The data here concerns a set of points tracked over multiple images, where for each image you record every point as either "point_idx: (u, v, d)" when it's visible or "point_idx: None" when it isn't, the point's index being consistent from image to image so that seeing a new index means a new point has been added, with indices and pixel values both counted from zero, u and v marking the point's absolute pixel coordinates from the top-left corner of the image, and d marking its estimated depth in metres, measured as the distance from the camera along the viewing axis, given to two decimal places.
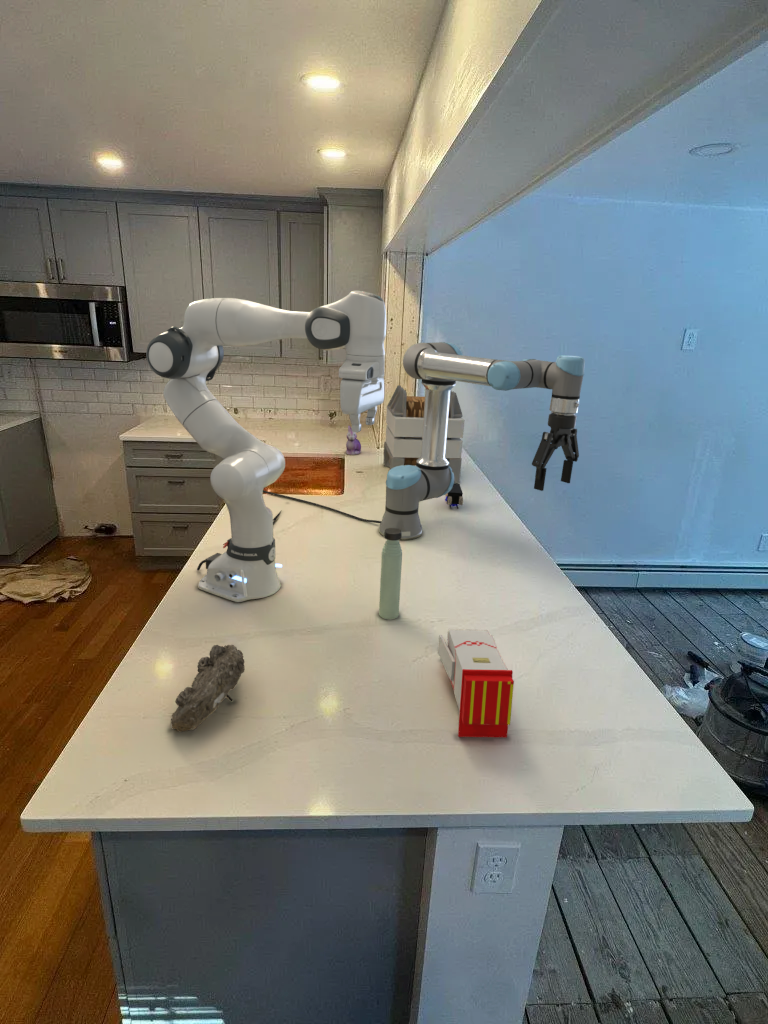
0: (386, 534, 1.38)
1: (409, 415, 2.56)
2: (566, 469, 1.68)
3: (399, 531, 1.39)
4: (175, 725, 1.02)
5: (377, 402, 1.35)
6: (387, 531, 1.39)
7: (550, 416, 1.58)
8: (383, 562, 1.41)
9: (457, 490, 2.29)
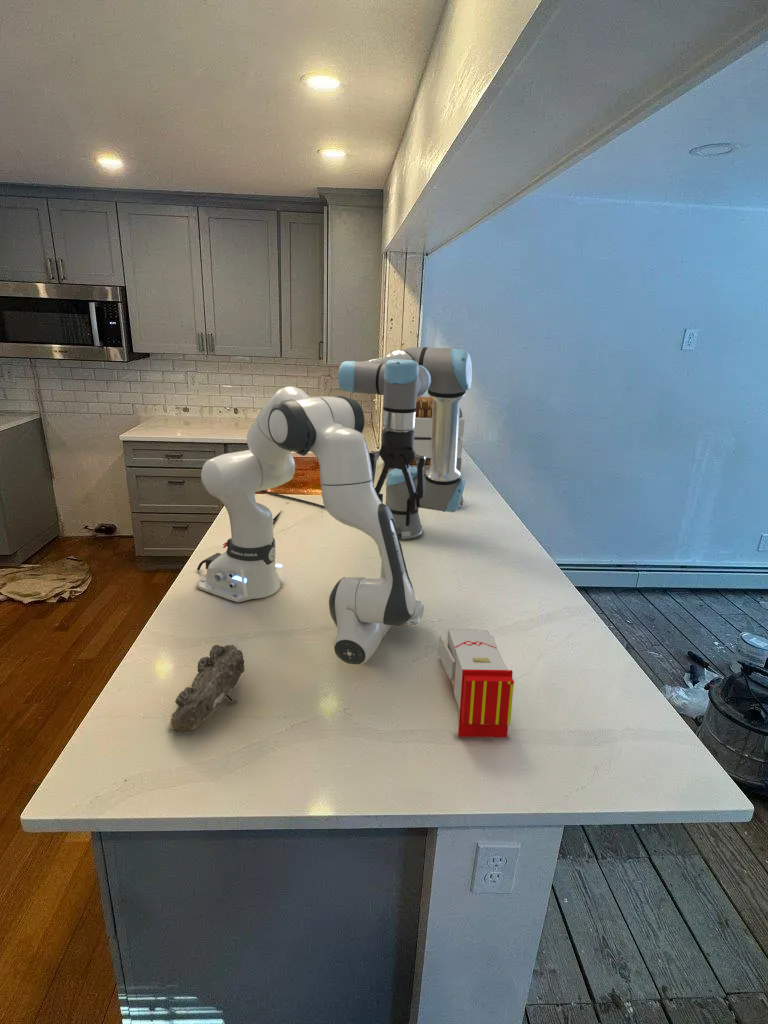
0: None
1: None
2: None
3: (399, 531, 1.39)
4: (175, 725, 1.02)
5: None
6: None
7: (410, 435, 1.29)
8: None
9: None
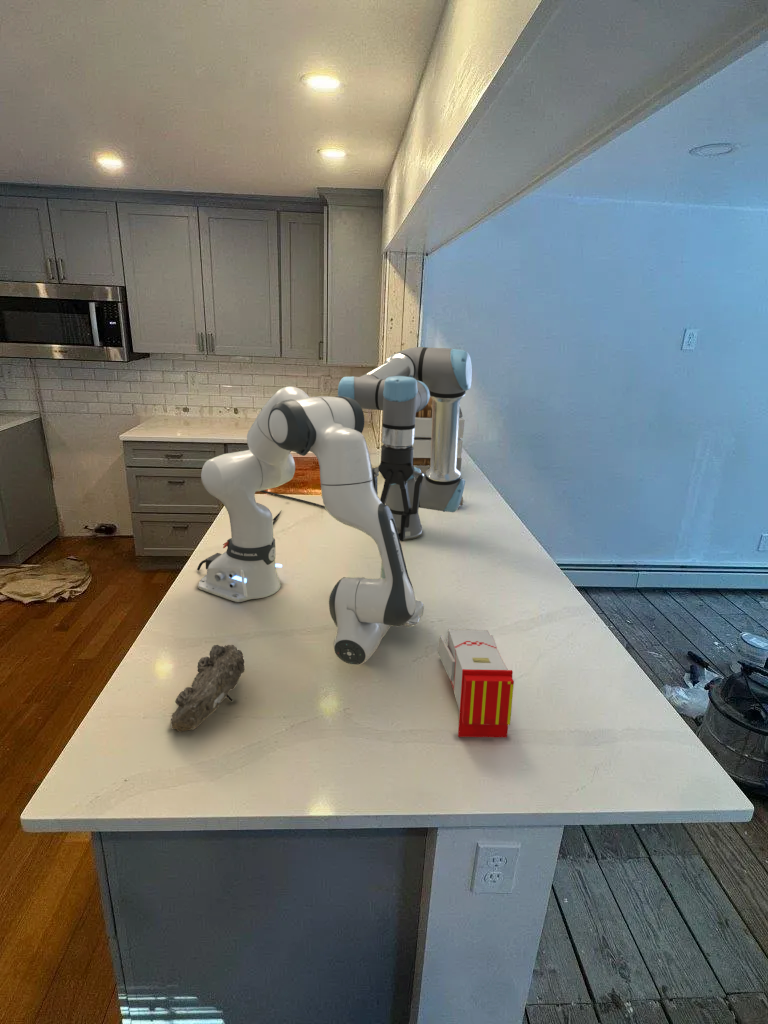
0: None
1: None
2: None
3: (399, 531, 1.39)
4: (175, 725, 1.02)
5: None
6: None
7: (409, 451, 1.30)
8: None
9: None
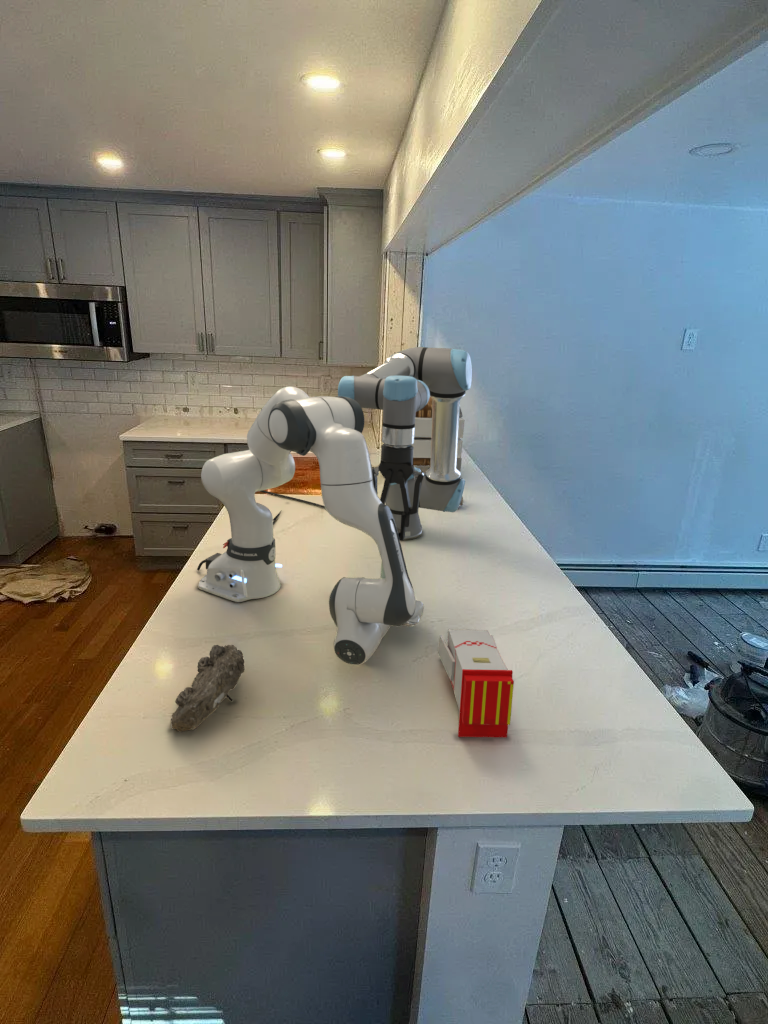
0: None
1: None
2: None
3: None
4: (175, 725, 1.02)
5: None
6: (398, 531, 1.38)
7: (409, 451, 1.30)
8: None
9: None
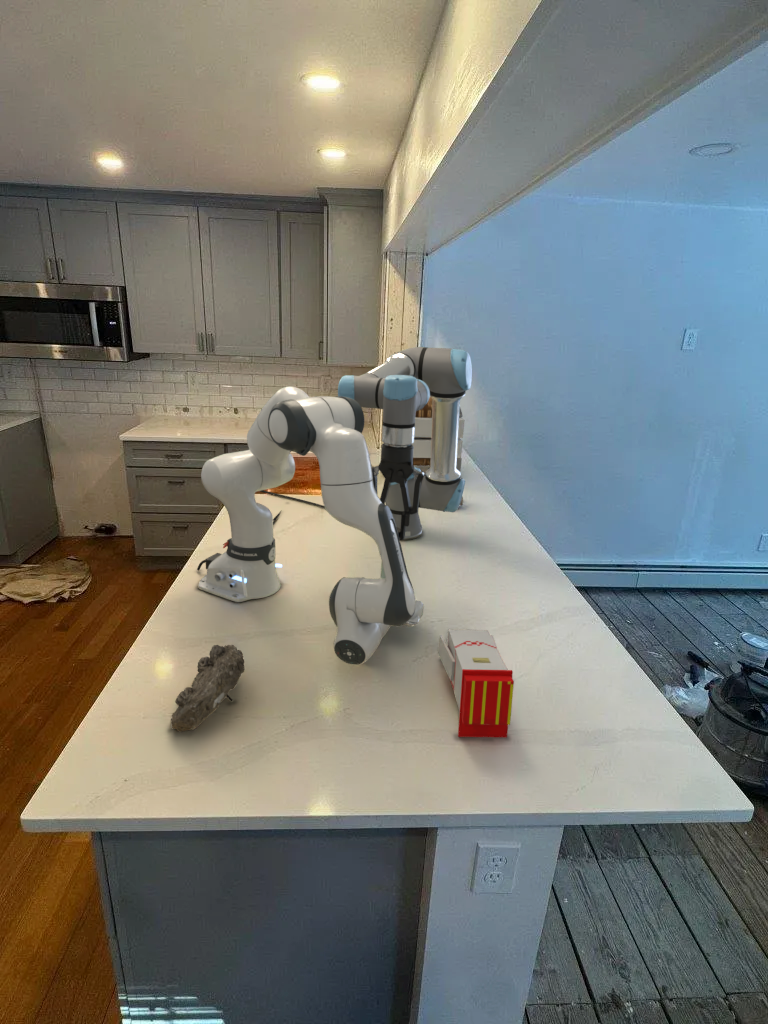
0: None
1: None
2: None
3: None
4: (175, 725, 1.02)
5: None
6: None
7: (410, 450, 1.30)
8: None
9: None
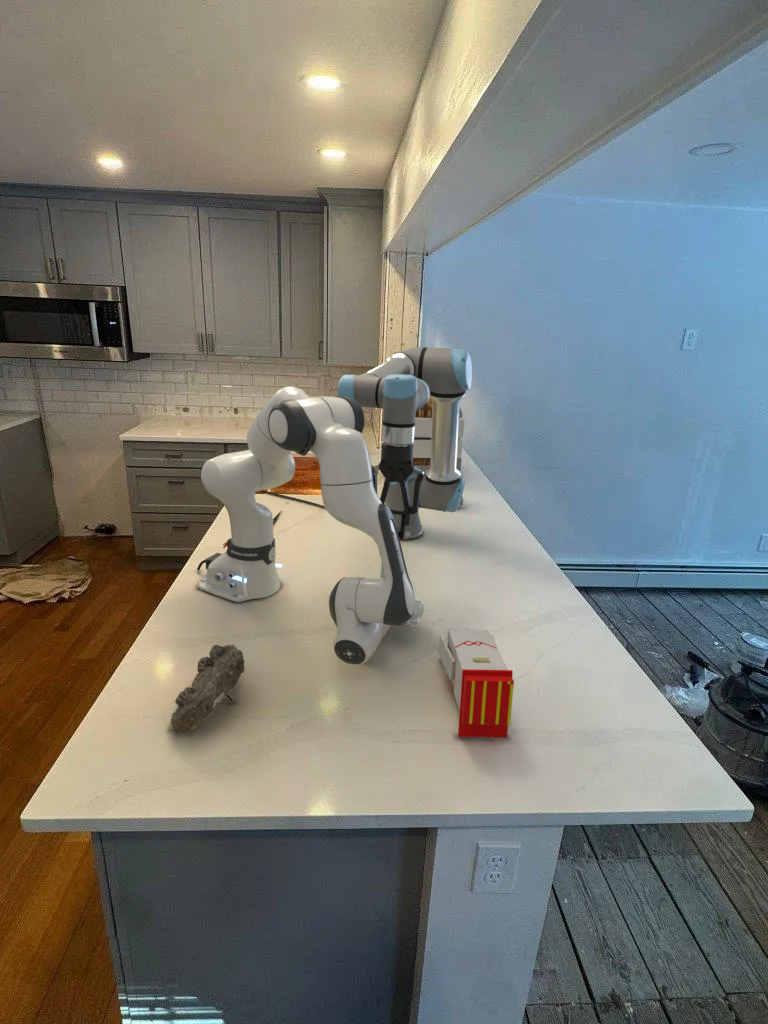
0: None
1: None
2: None
3: (399, 529, 1.39)
4: (175, 725, 1.02)
5: None
6: None
7: (410, 450, 1.30)
8: None
9: None
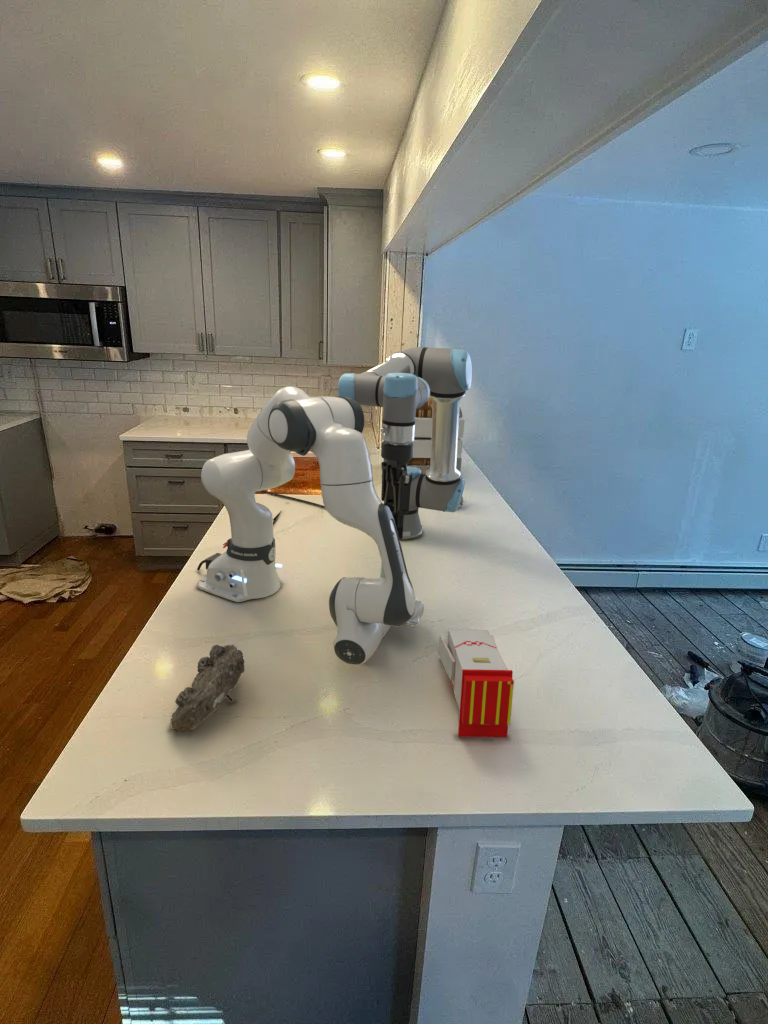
0: None
1: None
2: None
3: None
4: (175, 725, 1.02)
5: None
6: None
7: None
8: None
9: None
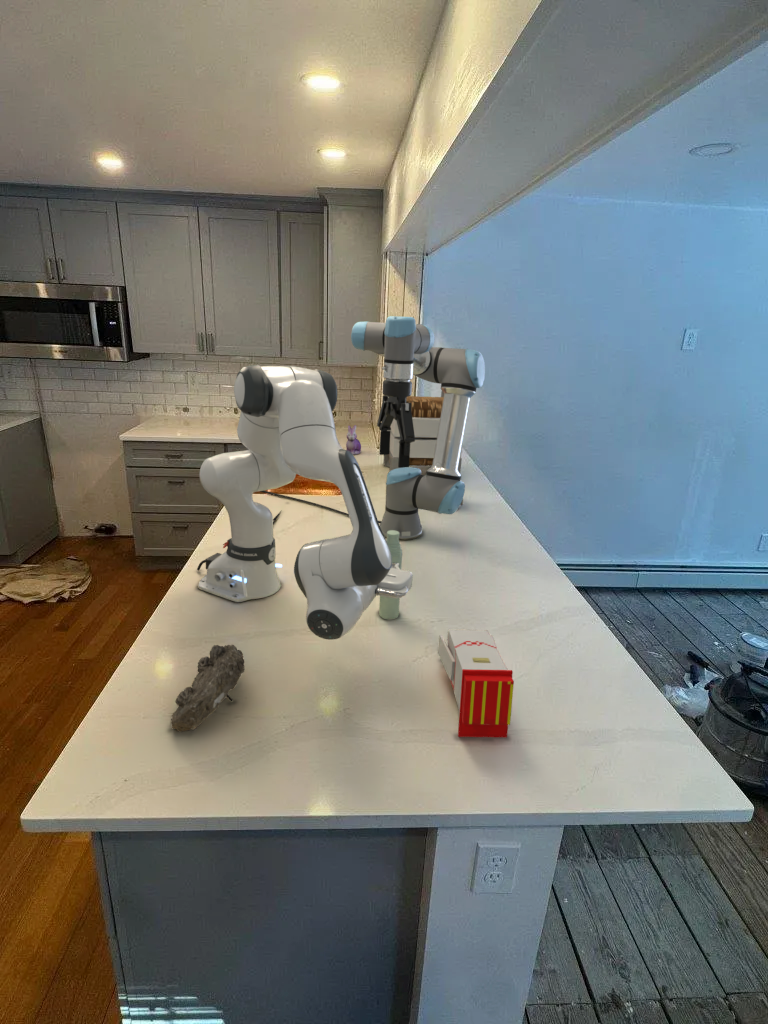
0: None
1: None
2: None
3: None
4: (175, 725, 1.02)
5: None
6: None
7: None
8: None
9: None
